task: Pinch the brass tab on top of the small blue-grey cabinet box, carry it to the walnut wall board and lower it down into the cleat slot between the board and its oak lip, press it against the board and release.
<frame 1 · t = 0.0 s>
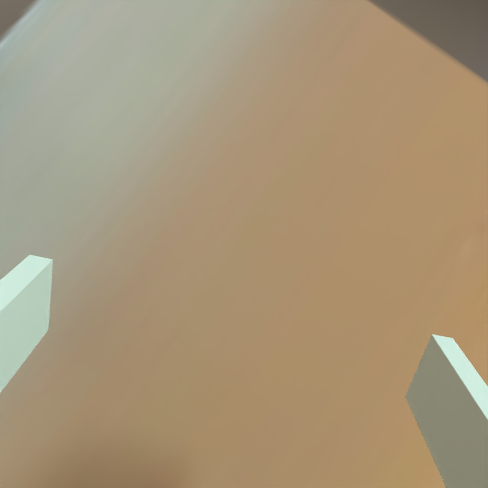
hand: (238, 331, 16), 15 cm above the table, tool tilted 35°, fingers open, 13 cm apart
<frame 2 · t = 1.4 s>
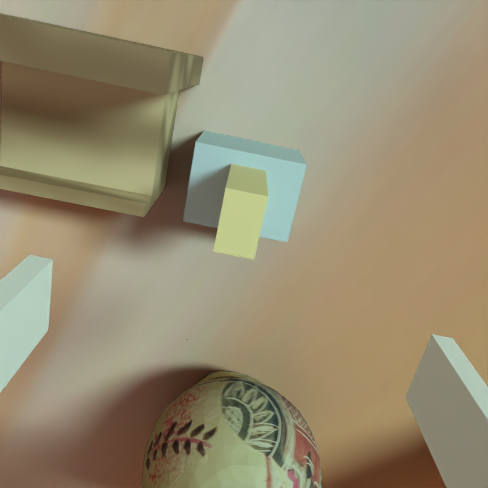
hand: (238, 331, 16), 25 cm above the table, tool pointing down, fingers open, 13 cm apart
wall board: (112, 51, 36), on the table
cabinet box: (244, 175, 39), on the table
ceramic jug: (233, 399, 48), on the table
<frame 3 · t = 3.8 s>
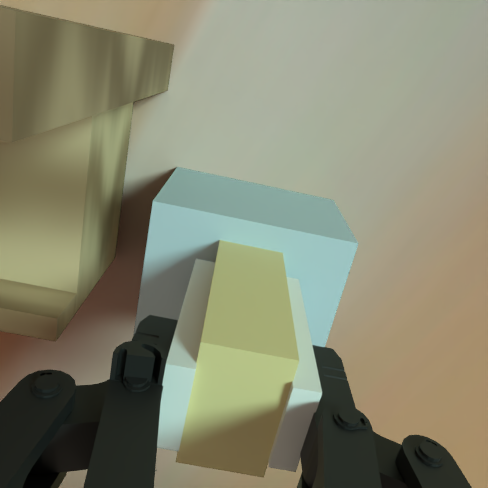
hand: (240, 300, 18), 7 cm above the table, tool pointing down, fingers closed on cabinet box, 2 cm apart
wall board: (17, 33, 21), on the table
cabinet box: (243, 238, 24), on the table, touching gripper
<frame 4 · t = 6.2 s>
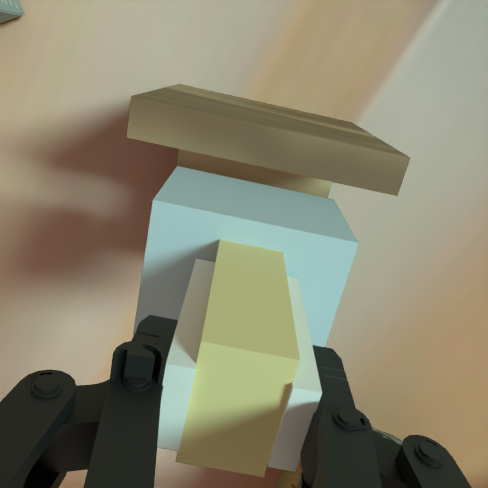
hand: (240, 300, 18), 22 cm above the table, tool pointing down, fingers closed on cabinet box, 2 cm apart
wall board: (263, 116, 37), on the table
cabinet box: (243, 237, 24), point 16 cm above the table, touching gripper
ceramic jug: (341, 441, 49), on the table
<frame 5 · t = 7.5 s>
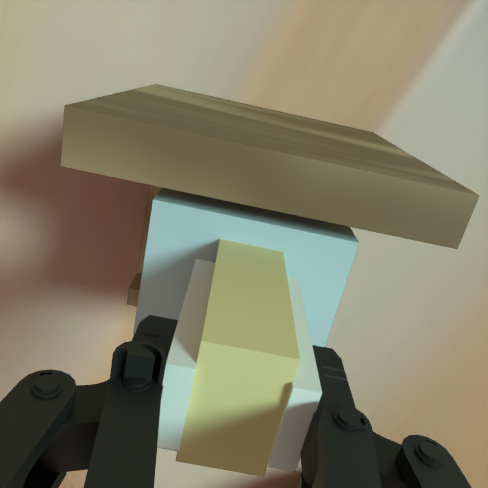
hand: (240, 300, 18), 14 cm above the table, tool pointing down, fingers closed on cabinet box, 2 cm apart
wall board: (262, 124, 30), on the table
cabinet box: (243, 237, 24), point 8 cm above the table, touching gripper
when the fingers open (14 cm above the table, at t = 8.4 s): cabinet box drops 1 cm, resting on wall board.
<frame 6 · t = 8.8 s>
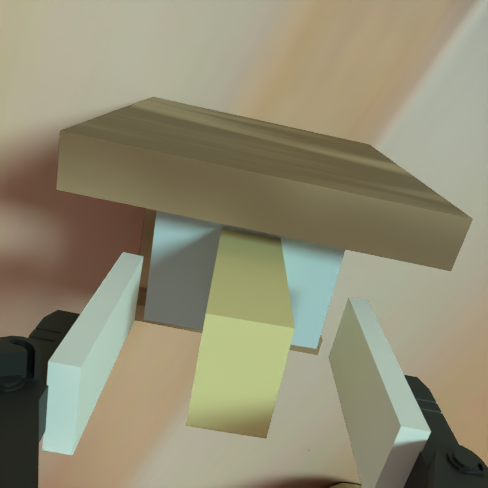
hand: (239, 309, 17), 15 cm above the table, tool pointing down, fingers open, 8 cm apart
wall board: (259, 136, 30), on the table
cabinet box: (244, 229, 26), point 6 cm above the table, touching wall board
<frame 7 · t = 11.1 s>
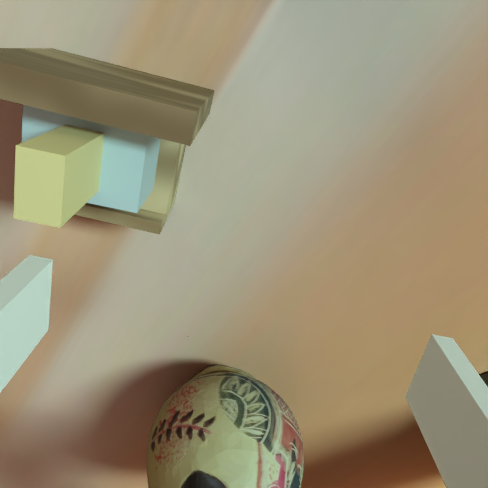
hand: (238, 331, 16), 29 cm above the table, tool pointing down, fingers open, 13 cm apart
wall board: (132, 81, 40), on the table
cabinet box: (107, 142, 36), point 6 cm above the table, touching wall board
ceramic jug: (226, 390, 53), on the table
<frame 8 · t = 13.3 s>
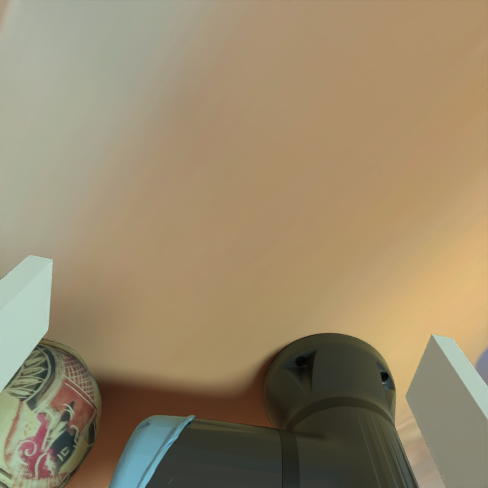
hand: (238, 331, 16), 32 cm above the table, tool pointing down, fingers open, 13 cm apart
ceramic jug: (52, 364, 55), on the table
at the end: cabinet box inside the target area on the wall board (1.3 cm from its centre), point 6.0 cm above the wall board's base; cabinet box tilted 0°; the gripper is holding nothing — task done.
